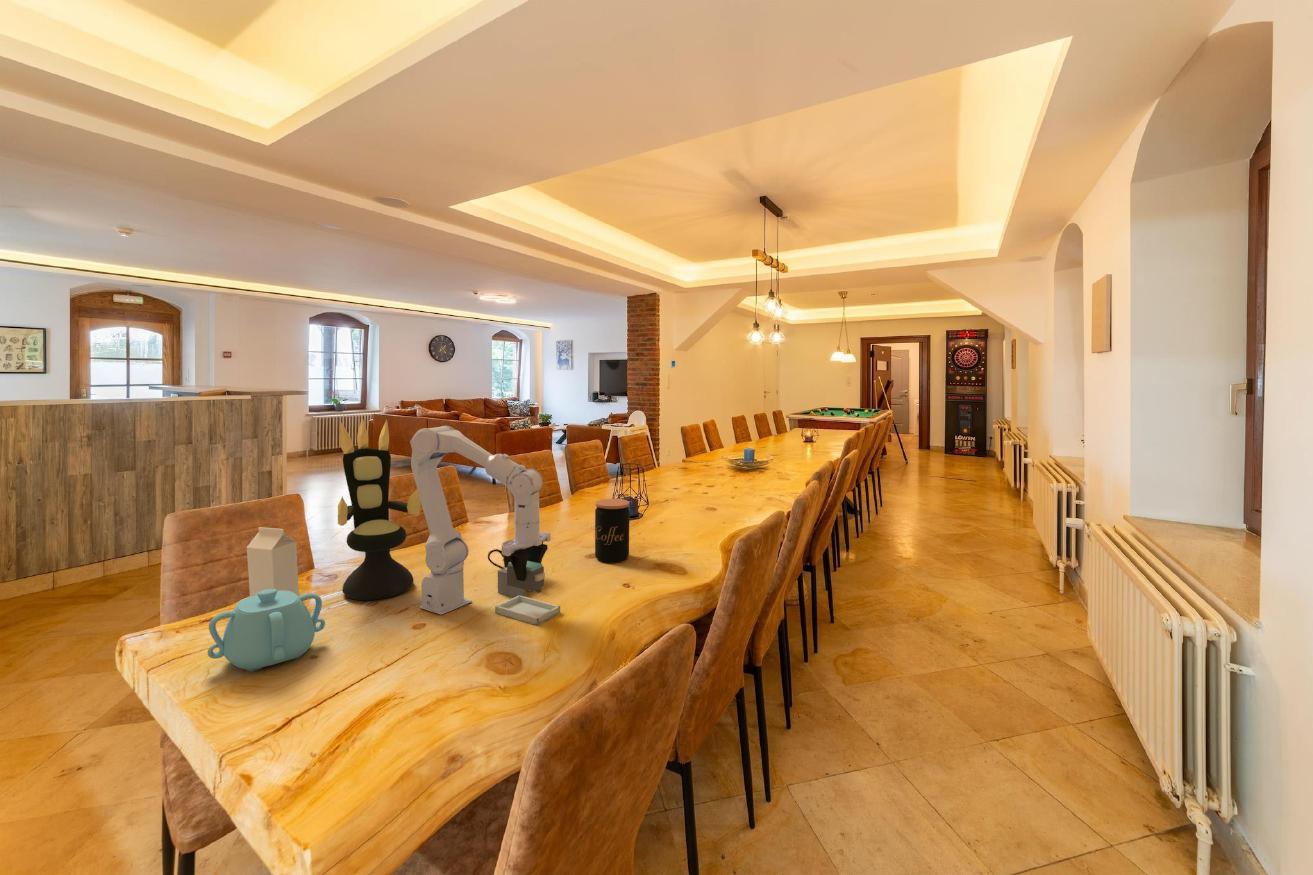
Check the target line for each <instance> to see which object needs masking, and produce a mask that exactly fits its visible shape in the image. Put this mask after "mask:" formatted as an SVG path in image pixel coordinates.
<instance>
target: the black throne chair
mask: <svg viewBox="0 0 1313 875" xmlns="http://www.w3.org/2000/svg"><path fill="white" fill-rule="evenodd" d="M359 424H360V425H359V428H358V432H357V435H356V436H357V438H356V442H357V447H358V448H357V449H356V448H354V444H353V440H352V437H351V436H350V434H349V432H348V431H347V429H346V427H345V425H344V424H343V423H342V422H341V421H340V422H339V437H338V439H339V440H338V441H339V446H340V448H341V450H342V453H343V457H342V464H343V465H342V466H343V472H344V476H345V481H346V484H347V489H348V494H349V498H350V503H351V505H348V503H346V501H345V499H344V497H343V495H342V496H341V498H340V501H339V502H338V504H337V524H338V525H339V526H341V527H342V526H345V525H346V524H347V523H348V521H350V520H351V519H352V517H353V527H354V528H353V530H351V531H350V532H349V533H348V534H347V537H346V543H347V544H346V545H347V546H348V547H349V548H350V549H351V550H353V551H356V552H361V553H364V555H365V556H364V558H363V559H364V560H363V561H362V563H361V564H359V565H358V566H357V568H355V569H354V570H353V571H352V572H351V573H350V574H349V575H348V576H347V578H346V580H345V581H344V582H343V585H342V594H344V595H345V597H347V598H349V599H352V600H357V601H375V600H376V601H377V600H382V599H388V598H391V597H392V598H393V597H395V596H398V595H401V594H403V593H404V592H407V591H408V590H409V589H410V588H411V587H412V585H413V584H414V581H415V580H414V577H413V574H412V573H411V571H410V569H408V568H407V567H405V566H404V565H403V564H401V563H399V562H398V561H397V560H395V558H393V557H392V555H391V551H390V550H392V549H395V548H397V547H399V546H401V545H403V543H404V542H405V540H406V538H407V532H406V529H405V528H404V527H402V526H401V525H399V524H398V523H396V522H394V521H392V520H390V510H394V511H398V512H402V513H407V514H409V515H411V516H417V517H418V516H420V511H421V506H422V504H421V500H420V497H419V493H418V489H417V488H416V489H415V491H413V492H412V493H411V495H410V496H409V497H408V500H407V502H403V501H400V500H399V501H398V500H390V498H389V495H390V494H389V493H390V492H389V491H390V479H391V478H390V475H391V465H392V464H391V461H392V460H391V459H392V458H391V457H392V456H391V454H390V451H389V450H388V449H389V445H390V444H389V443H390V432H389V425H388V424H389V422H388V419H387V418H386V419H385V422H384V424H383V427H382V429H381V431H380V434H379V438H378V448H373V447H371V448H370V447H369V434H368V432H367V427H366V424H365V420H364V418H363V417H361V421H360V423H359Z"/></svg>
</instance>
